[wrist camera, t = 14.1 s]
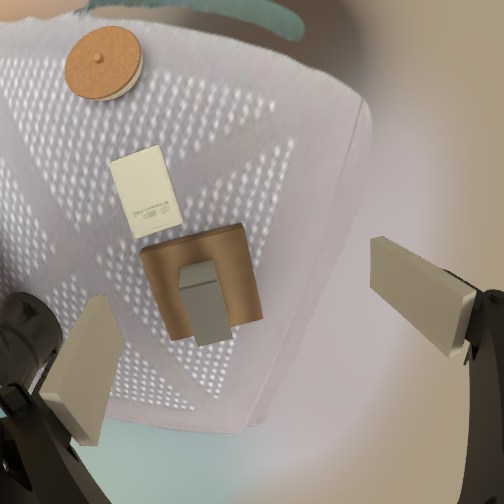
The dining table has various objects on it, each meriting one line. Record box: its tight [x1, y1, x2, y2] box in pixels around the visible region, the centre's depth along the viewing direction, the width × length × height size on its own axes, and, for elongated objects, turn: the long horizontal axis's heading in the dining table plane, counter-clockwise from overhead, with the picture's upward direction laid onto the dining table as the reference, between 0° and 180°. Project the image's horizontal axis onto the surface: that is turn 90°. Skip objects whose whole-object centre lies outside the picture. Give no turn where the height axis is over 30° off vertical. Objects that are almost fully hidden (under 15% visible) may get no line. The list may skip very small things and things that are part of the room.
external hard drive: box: [109, 144, 184, 239], centre depth 42 cm, size 2×8×12 cm
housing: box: [179, 260, 233, 347], centre depth 42 cm, size 5×9×8 cm, turn 11°
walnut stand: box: [140, 223, 263, 341], centre depth 47 cm, size 16×16×3 cm
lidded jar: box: [65, 26, 143, 101], centre depth 31 cm, size 11×11×9 cm
